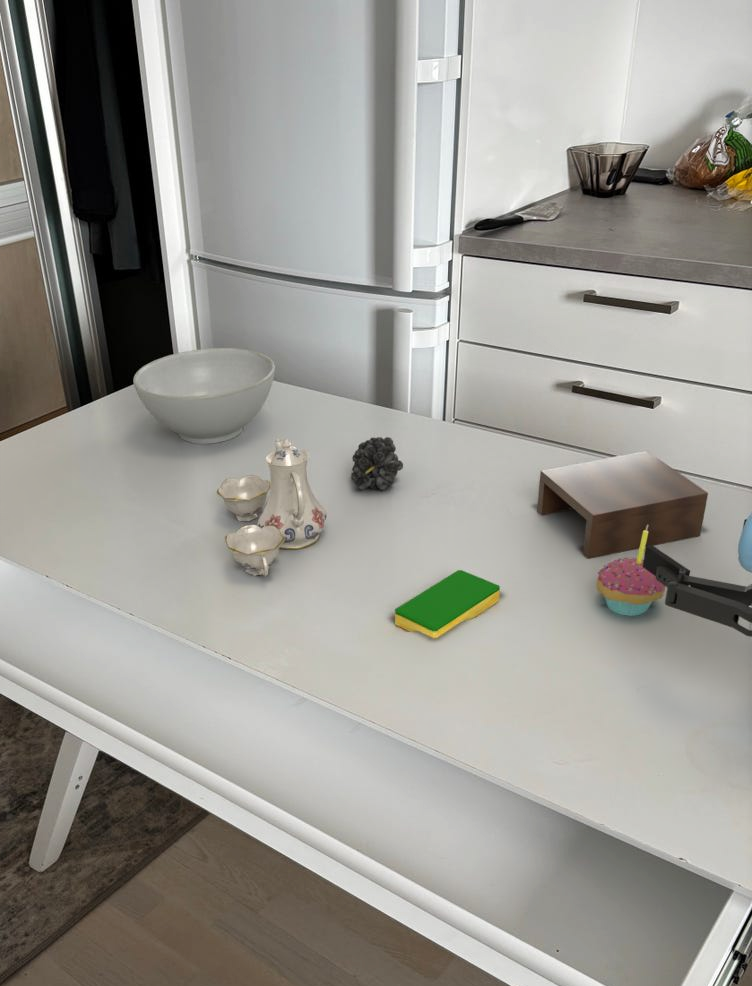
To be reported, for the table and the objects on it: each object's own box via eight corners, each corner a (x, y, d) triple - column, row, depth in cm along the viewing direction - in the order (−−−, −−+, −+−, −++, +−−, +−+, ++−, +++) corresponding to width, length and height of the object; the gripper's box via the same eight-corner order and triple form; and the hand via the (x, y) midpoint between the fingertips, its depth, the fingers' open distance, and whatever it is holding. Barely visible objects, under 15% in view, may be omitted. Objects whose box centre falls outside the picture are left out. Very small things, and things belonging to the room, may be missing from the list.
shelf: (640, 491, 157) (646, 450, 153) (700, 535, 144) (708, 492, 140) (536, 511, 154) (540, 470, 150) (587, 558, 141) (593, 515, 137)
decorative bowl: (115, 437, 193) (105, 377, 186) (219, 396, 207) (212, 339, 200) (201, 472, 176) (193, 408, 169) (307, 425, 190) (304, 364, 183)
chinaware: (212, 516, 164) (190, 425, 155) (307, 491, 166) (291, 399, 156) (242, 601, 142) (218, 500, 132) (352, 571, 143) (336, 469, 133)
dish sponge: (393, 624, 131) (393, 609, 130) (459, 583, 138) (459, 568, 137) (434, 644, 126) (435, 629, 125) (500, 600, 134) (501, 585, 132)
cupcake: (614, 587, 134) (625, 508, 127) (673, 608, 129) (688, 527, 122) (580, 614, 130) (590, 534, 123) (640, 636, 124) (654, 554, 118)
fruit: (363, 411, 169) (359, 444, 157) (409, 424, 170) (408, 459, 157) (349, 456, 174) (343, 492, 162) (393, 469, 175) (391, 505, 162)
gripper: (732, 698, 95) (600, 595, 112) (930, 635, 101) (777, 546, 118) (747, 635, 91) (608, 538, 108) (953, 572, 97) (791, 489, 114)
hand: (696, 542), depth 113 cm, fingers open, 13 cm apart
